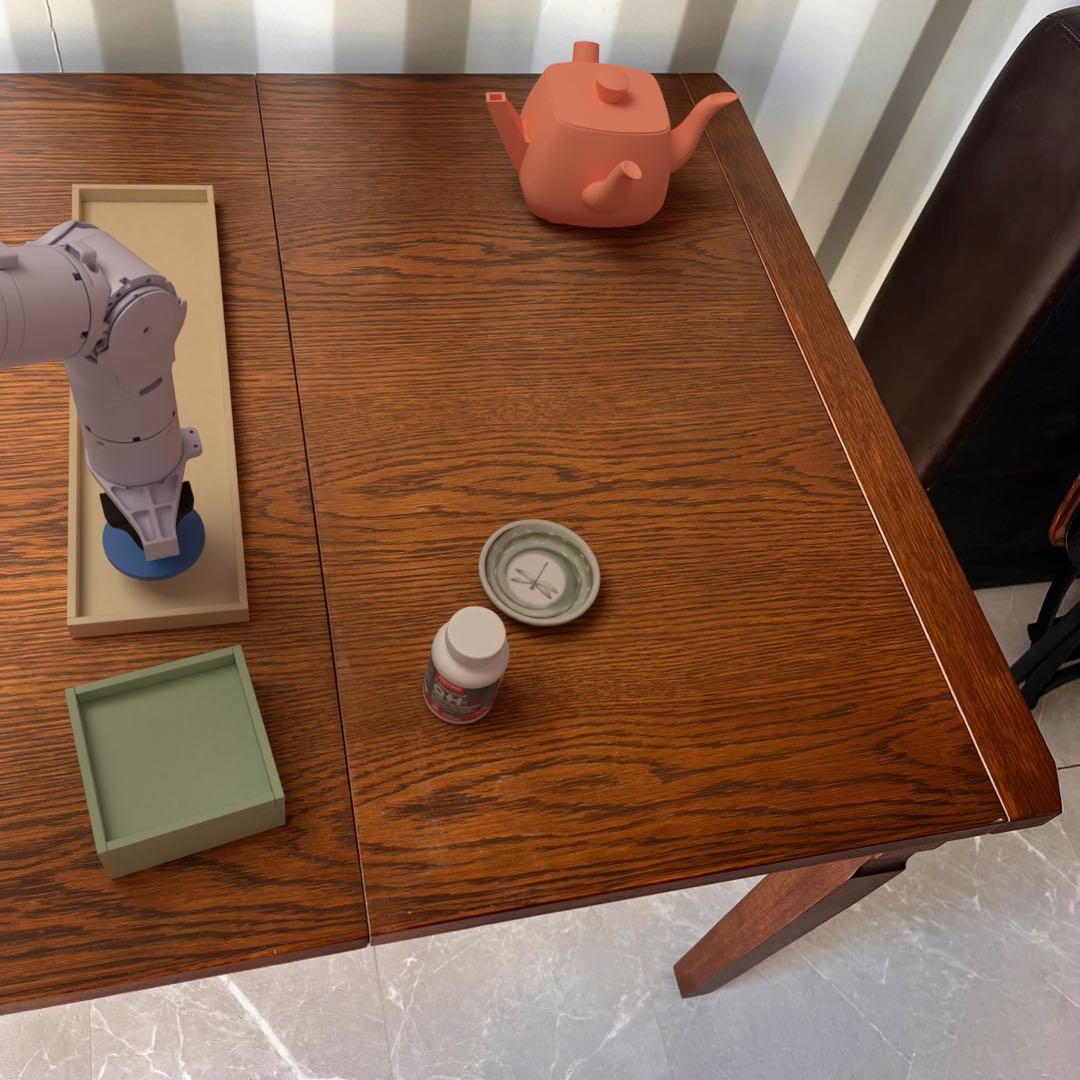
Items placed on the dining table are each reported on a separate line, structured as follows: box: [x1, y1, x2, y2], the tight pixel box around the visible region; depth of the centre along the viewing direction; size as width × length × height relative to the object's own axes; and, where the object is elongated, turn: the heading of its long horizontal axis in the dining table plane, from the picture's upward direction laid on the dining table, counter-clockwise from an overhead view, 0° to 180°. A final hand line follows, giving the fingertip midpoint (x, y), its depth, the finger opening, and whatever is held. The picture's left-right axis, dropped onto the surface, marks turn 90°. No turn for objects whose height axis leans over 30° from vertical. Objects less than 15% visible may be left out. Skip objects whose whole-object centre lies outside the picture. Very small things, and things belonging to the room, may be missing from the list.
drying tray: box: [66, 183, 250, 639], centre depth 89 cm, size 45×12×2 cm, turn 12°
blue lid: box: [102, 508, 206, 581], centre depth 77 cm, size 7×7×5 cm
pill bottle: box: [422, 605, 510, 725], centre depth 76 cm, size 5×5×10 cm
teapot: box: [485, 40, 739, 228], centre depth 108 cm, size 18×18×14 cm
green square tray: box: [64, 644, 286, 881], centre depth 71 cm, size 11×11×6 cm
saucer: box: [477, 518, 601, 627], centre depth 85 cm, size 10×10×2 cm
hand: (152, 527), depth 77 cm, fingers closed on blue lid, 2 cm apart
